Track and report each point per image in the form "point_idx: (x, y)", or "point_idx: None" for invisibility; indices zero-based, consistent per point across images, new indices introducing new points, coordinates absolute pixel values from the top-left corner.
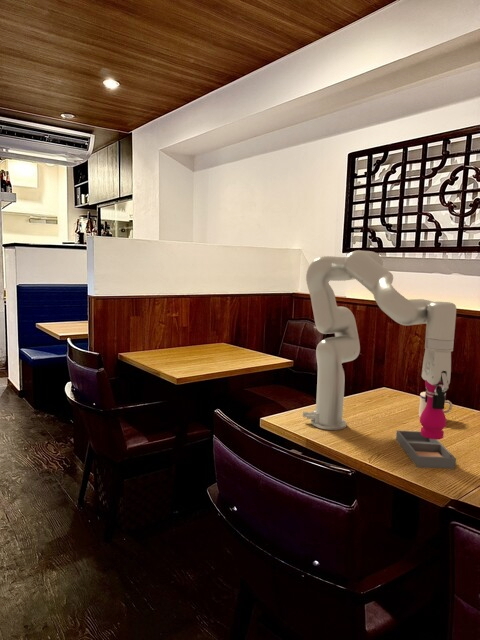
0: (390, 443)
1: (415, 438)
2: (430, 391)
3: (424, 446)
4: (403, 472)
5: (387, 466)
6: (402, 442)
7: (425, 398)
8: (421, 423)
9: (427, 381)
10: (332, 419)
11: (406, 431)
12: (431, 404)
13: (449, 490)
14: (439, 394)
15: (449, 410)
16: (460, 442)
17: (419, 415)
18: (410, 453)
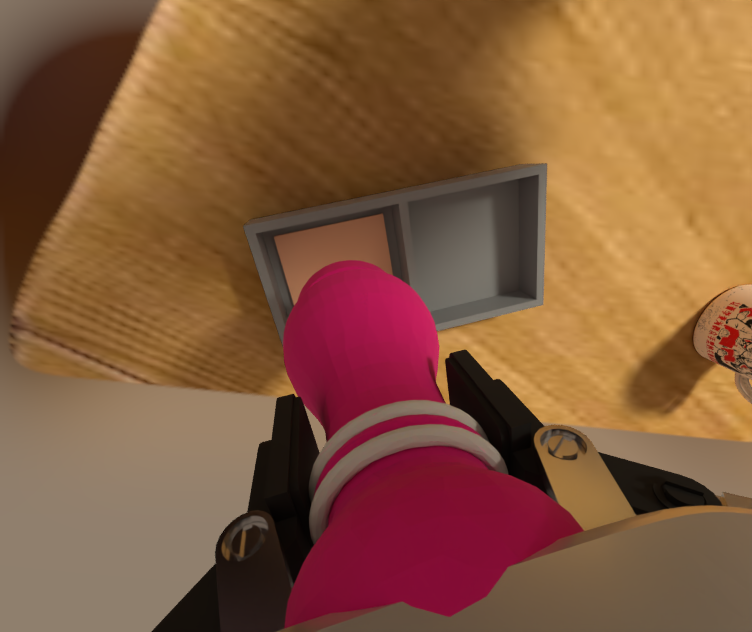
0: (473, 131)
1: (520, 245)
2: (360, 483)
3: (405, 269)
4: (164, 152)
5: (197, 79)
6: (447, 181)
7: (470, 366)
8: (331, 275)
9: (385, 615)
10: None
11: (538, 210)
12: (332, 398)
13: (85, 311)
14: (213, 576)
15: (742, 391)
16: (521, 386)
17: (747, 287)
18: (338, 203)
